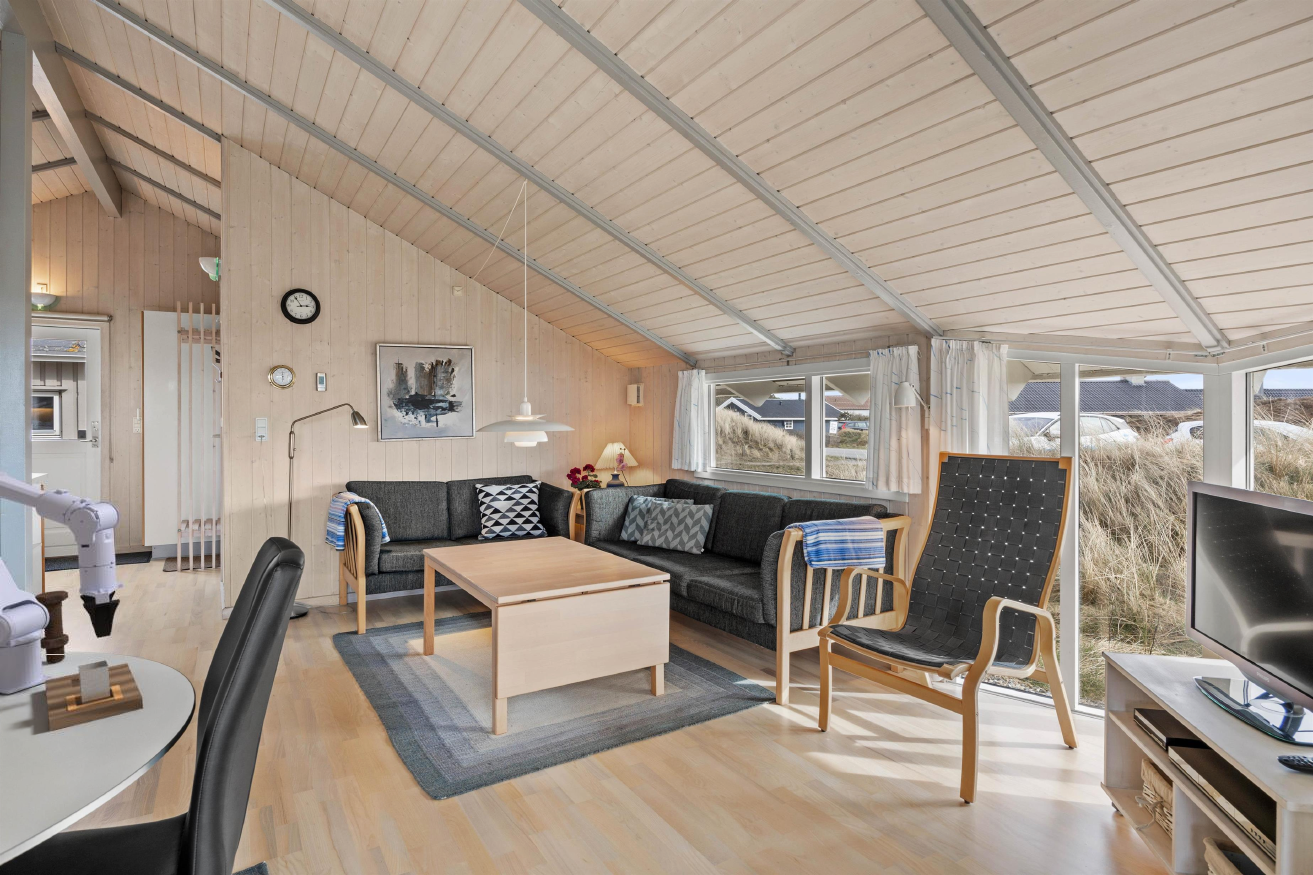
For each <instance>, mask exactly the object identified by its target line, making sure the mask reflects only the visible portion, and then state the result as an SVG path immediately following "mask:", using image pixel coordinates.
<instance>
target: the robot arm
mask: <svg viewBox="0 0 1313 875" xmlns="http://www.w3.org/2000/svg"><path fill="white" fill-rule="evenodd" d="M0 498H1V499H4V500H8V501H11V502H14V503H19V504H21V505H24V506H29V507H32V508H35V512H36V514H37V515H38V516H39V517H41V518H45V519H47V520H49V521H53V522H56V523H59V524H61V525H64V526H67V527H68V529H69V531H71V532H72V534H73V536H74V542H76V544H77V558H78V569H79V570H78V571H79V585H80V586H79V591H78V592H79V594H81V595H79V597H80V599H81V601H82V602H83V603H82V606H83V607H82V608H84V610H85V611H86V613H87V614H88V615H89V619H90V623H91V625H92V627H93V631H94V634H95V637H96V638H97V639H99V638H104V637H110V636H111V635H112V630H113V625H114V618H115V613H116V611H117V609H118V606H119V605H120V603H121V600H120V598H117V599H113V598H114V596H115V594H116V590H117V589H119V588H124V587H125V582H124V581H120V582H117V581H118V580H117V567H116V548H115V535H114V534H115V532H114V528H116V527H117V526H118V524H119V523H120V519H121V515H120V510H119V509H118V508H117V506H115V505H114V504H113V503H110V502H109V501H106V500H105V501H99V502H96V503H95V502H93V501H92V499H91V498H89V497H84V498H83V497H79V496H77V495H74V494H71V493H69V489H66V488H57V489H50V490H48V491H45V490H42V489H41V488H37V487H35V486H33V485H31V484H29V483H26V482H23V481H21V480H18V479H17V478H14V477H12V476H9V475H8V473H7V472H6V471H1V470H0ZM35 596H36V595H35V594H33V593H31V592H28V591H25V590H22V589H20V588H18V586H17V583H16V582H15V581H14V579H13V577H12V575H11V573H10V572H9V569H8V568H7V566H6V564H5V563H4V561H3V558H2V557H1V556H0V694H5V695H10V694H15V693H16V692H20V691H23V690H26V689H28V688H31V687H35V686H37V685H41V684H44V683H45V680H49V679H54V676H51V675H44V673H43V672H44V671H43V660H42V659H43V658H42V648H41V642H40V640H41V636H43V634H44V633H43V632H44V630H45V629H44V628H45V627H46V626H47V624H48V622H49V613H48V610H47V609H46V607H45V606H43V605H42V604H41V603H39V602H38V601H37V600H36V598H35Z"/></svg>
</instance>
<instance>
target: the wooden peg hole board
mask: <svg viewBox="0 0 1313 875" xmlns="http://www.w3.org/2000/svg"><path fill="white" fill-rule="evenodd" d="M108 671H109V686H110V698H108V699H104V700H100V701H96V702H91V703H87V704H83V705H81V697H80V683H79V672H78V673H73V674H70V675H69V674H68V675H65V676H64V675H63V676H58V677H55V678H54V679H49V680H45V682H44V683H45V694H46V695H45V696H46V704H47V714H48V724H49V725H48V726H49V732H52V731H56V730H60V729H64V728H68V727H69V728H70V727H72V726H76V725H77V726H78V725H81V724H85V723H88V722H93V721H97V720H101V719H105V718H110V717H112V716H117V715H120V714H124V713H128V712H133V711H137V710H142V709H144V702H143V700H144V699H143V695H142V694H141V692H140V689H139V686H138V684H137V682H136V680H135V678H134V675H133V673H132V671H131V668H130V667H129V664H128V662H126V663H121V664H117V665H112V666H108Z"/></svg>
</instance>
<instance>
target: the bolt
mask: <svg viewBox="0 0 1313 875" xmlns="http://www.w3.org/2000/svg"><path fill="white" fill-rule="evenodd" d="M34 596H35V598H36V600H37V601H38V602H39V603H41V604H42V605H43V606H45V607H46V609H47V610H48V613H49V622H48V624H47V626H46V627H45V628H44V629H43V632H44V633H43V634H44V637H43V638H40V642H41V649H45V660H46V661H45V662H46V663H47V664H52V663H53V664H57V663H60V662H62V661H64V660H65V658H66V652H65V651H66V650H65V645H67V644H68V643H69V640H70V638H69V634H66V633H64V627H63V626H64V625H63V612H62V611H63V602H64V601H65V600H67V599H68V598H69V592H68V591H65V590H54V591H45V592H42V593H39V594H37V595H34ZM46 654H65V655H46Z"/></svg>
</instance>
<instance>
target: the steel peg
mask: <svg viewBox="0 0 1313 875" xmlns="http://www.w3.org/2000/svg"><path fill="white" fill-rule="evenodd" d="M77 667H78V673H79V683H80V697H81V705H83V704H87V703H91V702H96V701H100V700H104V699H108V698H110V686H109V671H108V667H109V664H108V662H107V660H105V659H104V660H100V661H96V662H92V663H87V664H82V665H78V666H77Z"/></svg>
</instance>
